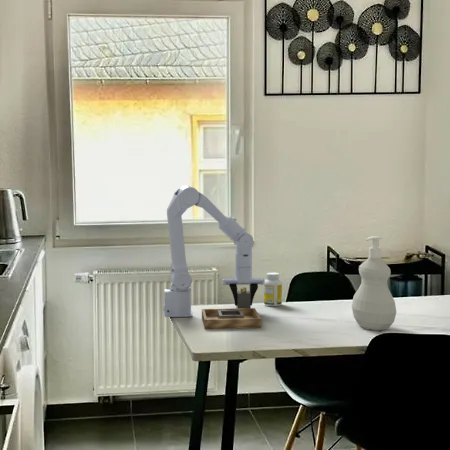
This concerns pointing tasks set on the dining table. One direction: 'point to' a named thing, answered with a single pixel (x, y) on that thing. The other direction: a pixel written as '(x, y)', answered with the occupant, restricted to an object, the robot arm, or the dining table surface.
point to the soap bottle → (374, 292)
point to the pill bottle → (272, 290)
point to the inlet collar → (230, 314)
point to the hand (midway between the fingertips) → (243, 305)
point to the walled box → (249, 319)
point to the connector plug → (243, 298)
